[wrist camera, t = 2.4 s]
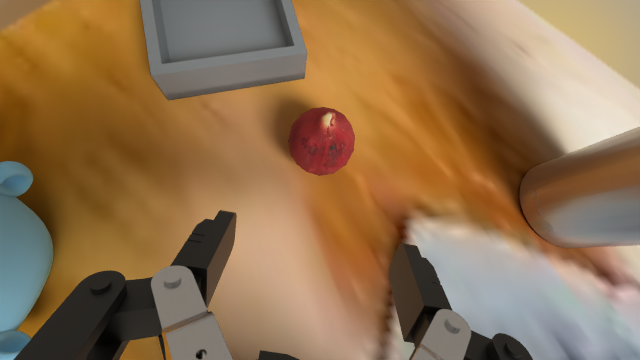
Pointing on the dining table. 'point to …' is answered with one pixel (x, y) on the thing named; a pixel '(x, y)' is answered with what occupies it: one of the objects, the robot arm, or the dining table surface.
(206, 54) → the bin
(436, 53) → the dining table surface
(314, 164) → the onion
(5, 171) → the decorative pot
